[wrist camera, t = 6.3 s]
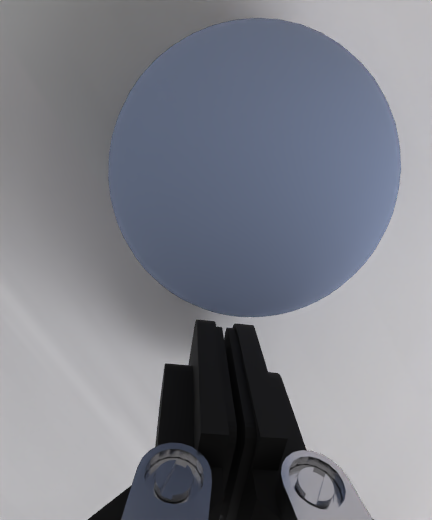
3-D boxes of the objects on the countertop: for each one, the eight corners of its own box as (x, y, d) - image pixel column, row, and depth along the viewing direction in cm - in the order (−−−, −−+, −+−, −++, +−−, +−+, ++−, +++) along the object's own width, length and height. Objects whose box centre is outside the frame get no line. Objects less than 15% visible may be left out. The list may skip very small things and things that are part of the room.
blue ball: (516, 287, 6) (381, 153, 10) (364, -126, 3) (273, -59, 7) (226, 410, 8) (221, 253, 12) (-20, 235, 5) (90, 116, 9)
